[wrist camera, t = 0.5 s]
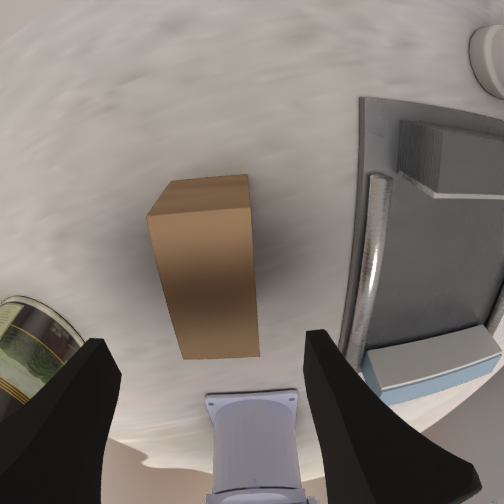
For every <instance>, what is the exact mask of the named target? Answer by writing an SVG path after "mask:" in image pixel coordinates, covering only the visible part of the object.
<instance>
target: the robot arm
mask: <svg viewBox="0 0 504 504" xmlns="http://www.w3.org/2000/svg"><path fill="white" fill-rule="evenodd" d="M303 372H304V379H305V386H306V393H307V398H308V402H309V405H310V409H311V413H312V417H313V421H314V424H315V428H316V432H317V436H318V440H319V444H320V448H321V452H322V457H323V464H324V472H325V478H326V488H327V496H328V504H460V503H462V502H464V501H465V500H467V499H469V498H470V497H472V496H473V495H475V494H477V493H478V492H479V491H481V489H482V485H481V482H480V479H479V476H478V474H477V472H476V470H475V468H474V466H473V465H472V464H471V463H469V462H467V461H465V460H463V459H461V458H459V457H457V456H455V455H453V454H451V453H450V452H448V451H446V450H444V449H443V448H441V447H440V446H438V445H436V444H435V443H433V442H432V441H430V440H429V439H427V438H426V437H425V436H423V435H422V434H421V433H419V432H418V431H417V430H415V429H414V428H412V427H411V426H410V425H409V424H407V423H406V422H405V421H404V420H403V419H401V418H400V417H399V416H398V415H397V414H396V413H394V412H393V411H392V410H391V409H390V408H389V407H388V406H387V405H386V404H385V403H384V402H383V401H382V400H381V399H380V398H379V397H378V396H377V395H376V394H375V393H374V392H373V391H372V390H371V389H370V388H369V386H368V385H367V384H366V383H365V382H364V381H363V380H362V378H361V377H360V376H359V375H358V374H357V372H356V371H355V370H354V369H353V367H352V366H351V365H350V364H349V362H348V361H347V360H346V359H345V357H344V356H343V354H342V353H341V352H340V350H339V349H338V348H337V346H336V345H335V343H334V342H333V340H332V339H331V337H330V336H329V334H328V333H327V331H326V330H324V329H321V330H312V331H306V340H305V353H304V365H303ZM121 376H122V374H121V372H120V370H119V368H118V367H117V365H116V363H115V361H114V359H113V357H112V355H111V353H110V351H109V349H108V347H107V345H106V343H105V341H104V339H99V338H90V339H89V340H88V341H86V342H85V343H84V344H83V345H82V346H81V347H80V349H79V350H78V351H77V352H76V353H75V354H74V355H73V356H72V357H71V358H70V359H69V360H68V361H67V362H66V363H65V365H64V366H63V367H62V368H61V369H60V370H59V371H58V372H57V373H56V374H55V375H54V376H53V377H52V378H51V379H50V380H49V381H48V382H47V383H46V384H45V385H44V386H43V387H42V388H41V389H40V390H39V391H38V392H37V393H36V394H35V395H34V396H33V397H32V398H31V399H30V400H29V401H28V402H26V403H25V404H24V405H23V406H22V407H21V408H19V409H18V410H17V411H16V412H14V413H13V414H12V415H10V416H9V417H7V418H6V419H5V420H3V421H2V422H0V504H101V474H102V464H103V455H104V450H105V445H106V441H107V437H108V434H109V430H110V426H111V422H112V419H113V415H114V412H115V408H116V404H117V401H118V396H119V390H120V383H121ZM297 401H298V392H297V391H296V390H286V391H275V392H263V393H248V394H226V395H207V396H205V403H206V406H207V409H208V412H209V415H210V418H211V421H212V424H213V426H214V456H213V492H212V494H207V495H206V503H200V504H322V503H321V501H320V500H317V499H316V498H315V497H314V496H309V497H307V499H306V497H305V489H302V485H301V477H300V469H299V462H298V454H297V447H296V440H295V433H294V432H295V422H296V412H297ZM489 504H497V503H496V501H492V502H491V503H489Z"/></svg>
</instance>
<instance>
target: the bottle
mask: <svg viewBox="0 0 504 504" xmlns="http://www.w3.org/2000/svg"><path fill="white" fill-rule="evenodd" d="M469 53H470V60H471V66H472V68H473V70H474V73H475V75H476V78H477V79H478V81H479V82H480V84H481V85H482V86H483V88H484V89H485V90H487V91H488V92H489V93H491V94H492V95H493V96H495V97H497V98H499V99H502V100H504V26H503V25H500V24H497V25H491V26H487V27H484V28H482V29H479V30H477V31H476V32H475V33H474V35H473V37H472V38H471V41H470V48H469Z"/></svg>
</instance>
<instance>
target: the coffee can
mask: <svg viewBox="0 0 504 504" xmlns="http://www.w3.org/2000/svg"><path fill="white" fill-rule="evenodd" d="M83 344H84V342H83V340H82V339H81V337H80V336H79V335H78V333H77V332H76V331H75V330H74V329H73V328H72V327H71V326H70V325H69V323H68V322H66V321H65V320H64V319H63V318H62V317H61V316H59V315H58V314H57V313H56V312H54V311H53V310H52V309H50V308H49V307H47V306H45V305H43V304H42V303H40V302H38V301H35V300H33V299H30V298H27V297H21V296H14V297H10V298H7V299H6V300H4V301H3V302H2V303H1V305H0V422H2V421H3V420H5V419H6V418H7V417H9V416H10V415H12V414H13V413H14V412H16V411H17V410H18V409H19V408H21V407H22V406H23V405H24V404H25V403H26V402H28V401H29V400H30V399H31V398H32V397H33V396H34V395H35V394H36V393H37V392H38V391H39V390H40V389H41V388H42V387H43V386H44V385H45V384H46V383H47V382H48V381H49V380H50V379H51V378H52V377H53V376H54V375H55V374H56V373H57V372H58V371H59V370H60V369H61V368H62V367H63V366H64V365H65V363H66V362H67V361H68V360H69V359H70V358H71V357H72V356H73V355H74V354H75V353H76V352H77V351H78V350H79V349H80V347H81V346H82V345H83Z"/></svg>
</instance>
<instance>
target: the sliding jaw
mask: <svg viewBox="0 0 504 504" xmlns="http://www.w3.org/2000/svg"><path fill="white" fill-rule="evenodd" d="M501 353H502V350H501V348H500V347H499V346H498V344H497V343H496V341H495V340H494V339H493V337H492V336H491V335H490V333H489V332H488V331H487V329H486V328H485V327H484V325H483V324H482V325H479V326H475V327H472V328H468V329H464V330H461V331H457V332H453V333H449V334H445V335H441V336H437V337H433V338H429V339H424V340H420V341H415V342H410V343H406V344H401V345H396V346H391V347H385V348H380V349H374V350H368V351H366V354H365V358H364V361H363V365H362V368H361V370H362V373H363V376H364V379H365V382H366V384H367V385H368V386H369V388H370V389H371V390H372V391H373V392H374V393H375V394H376V395H377V396H378V397H379V398H380V399H381V400H382V401H383V402H384V403H385V404H386V405H387V406H390V405H394V404H398V403H402V402H405V401H409V400H413V399H416V398H420V397H423V396H427V395H430V394H433V393H436V392H439V391H442V390H445V389H448V388H451V387H454V386H457V385H460V384H463V383H465V382H468V381H471V380H473V379H476V378H478V377H481V376H483V375H486V374H488V373H491V372H492V371H493V369H494V367H495V366H496V364H497V363H498V361H499V359H500V358H501V356H502V354H501Z"/></svg>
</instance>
